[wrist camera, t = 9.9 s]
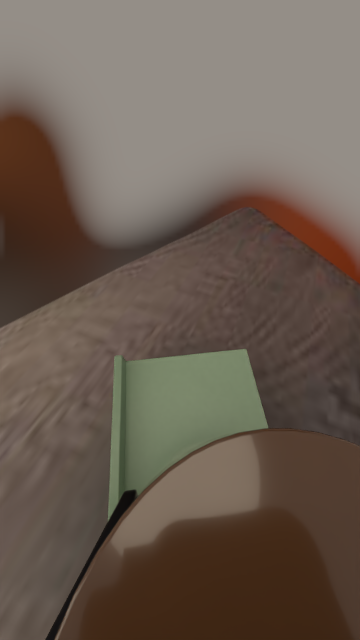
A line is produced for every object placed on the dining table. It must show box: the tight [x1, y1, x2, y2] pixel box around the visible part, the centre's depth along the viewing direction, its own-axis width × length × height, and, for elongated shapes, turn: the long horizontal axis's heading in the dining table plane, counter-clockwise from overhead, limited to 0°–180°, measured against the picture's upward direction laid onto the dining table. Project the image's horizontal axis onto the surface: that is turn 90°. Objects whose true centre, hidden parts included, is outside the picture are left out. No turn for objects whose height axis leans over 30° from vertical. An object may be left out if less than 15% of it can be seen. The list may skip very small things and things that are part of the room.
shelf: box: [108, 349, 268, 521], centre depth 15 cm, size 16×11×6 cm
